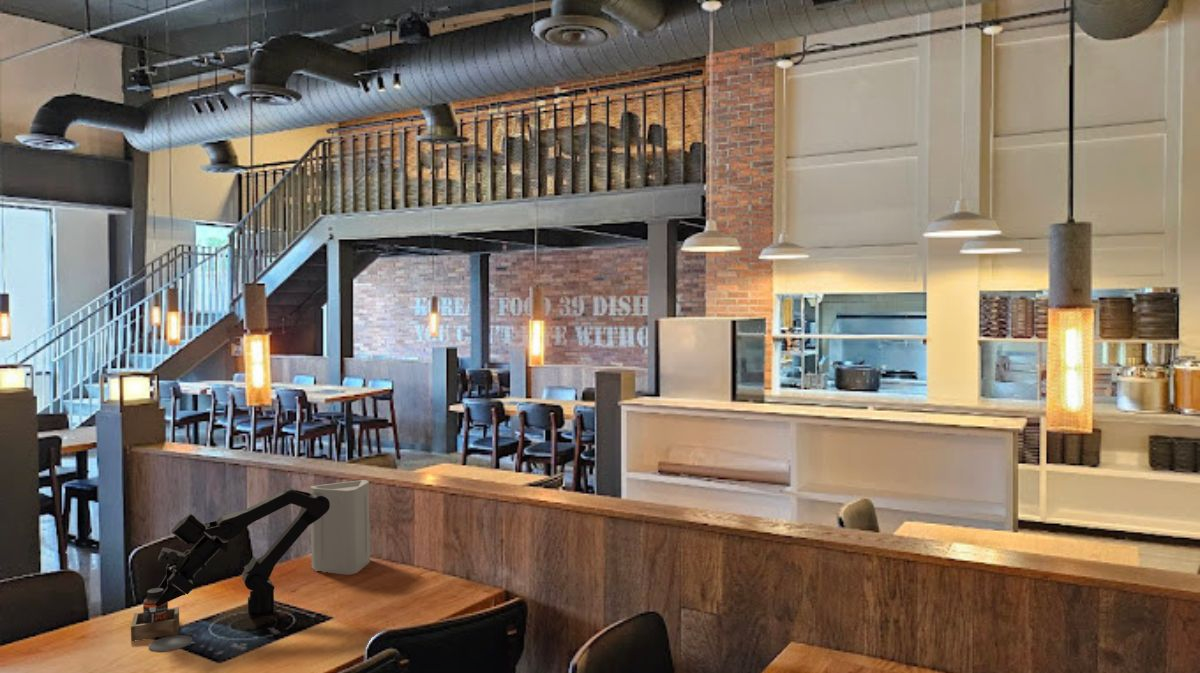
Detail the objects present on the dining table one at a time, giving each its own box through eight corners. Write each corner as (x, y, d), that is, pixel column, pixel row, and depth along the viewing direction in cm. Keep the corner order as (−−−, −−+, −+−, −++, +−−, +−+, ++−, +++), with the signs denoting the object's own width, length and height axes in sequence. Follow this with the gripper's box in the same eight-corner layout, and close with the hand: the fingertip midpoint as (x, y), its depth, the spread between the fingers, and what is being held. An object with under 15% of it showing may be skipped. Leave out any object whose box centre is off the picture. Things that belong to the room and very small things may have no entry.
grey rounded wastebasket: (322, 579, 269) (321, 493, 269) (311, 567, 282) (309, 486, 281) (380, 568, 280) (378, 486, 279) (366, 558, 292) (365, 479, 291)
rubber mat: (192, 634, 223) (192, 632, 223) (191, 647, 214) (191, 646, 214) (150, 640, 219) (150, 639, 219) (147, 654, 210) (147, 653, 210)
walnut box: (179, 621, 233) (179, 607, 233) (177, 634, 223) (177, 619, 223) (134, 627, 228) (134, 613, 228) (131, 641, 218) (130, 626, 218)
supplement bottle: (157, 636, 222) (156, 594, 222) (138, 634, 223) (137, 593, 223) (173, 627, 228) (172, 587, 228) (154, 626, 229) (153, 585, 229)
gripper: (175, 529, 236) (131, 573, 231) (178, 545, 220) (131, 593, 214) (206, 553, 240) (164, 597, 235) (211, 570, 224) (166, 617, 218)
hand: (155, 600), depth 225 cm, fingers open, 9 cm apart
